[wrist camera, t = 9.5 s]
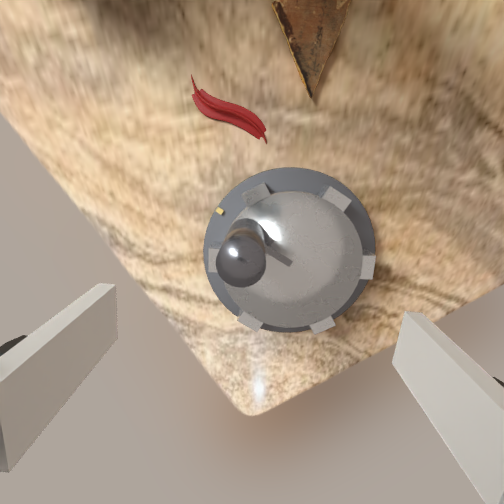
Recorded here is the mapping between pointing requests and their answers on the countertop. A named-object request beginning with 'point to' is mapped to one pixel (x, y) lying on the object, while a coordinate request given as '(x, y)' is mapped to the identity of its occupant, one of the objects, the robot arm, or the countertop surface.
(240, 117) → the cayenne pepper
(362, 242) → the base plate
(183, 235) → the countertop surface
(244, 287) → the tabbed dome lid
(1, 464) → the robot arm
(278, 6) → the shard
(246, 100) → the countertop surface
